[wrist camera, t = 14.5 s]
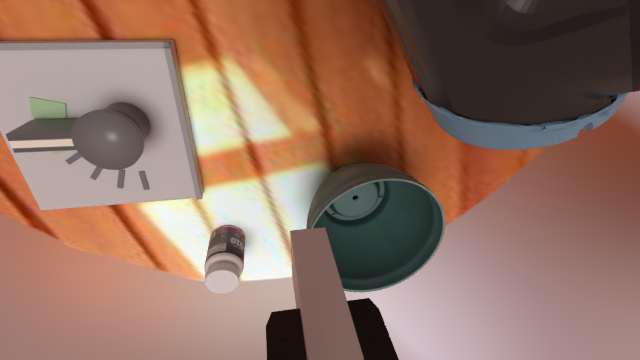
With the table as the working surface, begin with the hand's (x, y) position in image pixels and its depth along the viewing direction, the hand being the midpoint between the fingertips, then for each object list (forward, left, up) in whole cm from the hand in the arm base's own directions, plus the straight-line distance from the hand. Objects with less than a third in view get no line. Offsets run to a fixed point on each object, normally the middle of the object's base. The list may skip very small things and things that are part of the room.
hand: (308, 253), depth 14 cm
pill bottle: (+20, -8, -27) cm, 34 cm away
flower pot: (+14, +10, -27) cm, 32 cm away
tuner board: (+3, -19, -26) cm, 33 cm away
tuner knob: (+2, -19, -25) cm, 31 cm away
